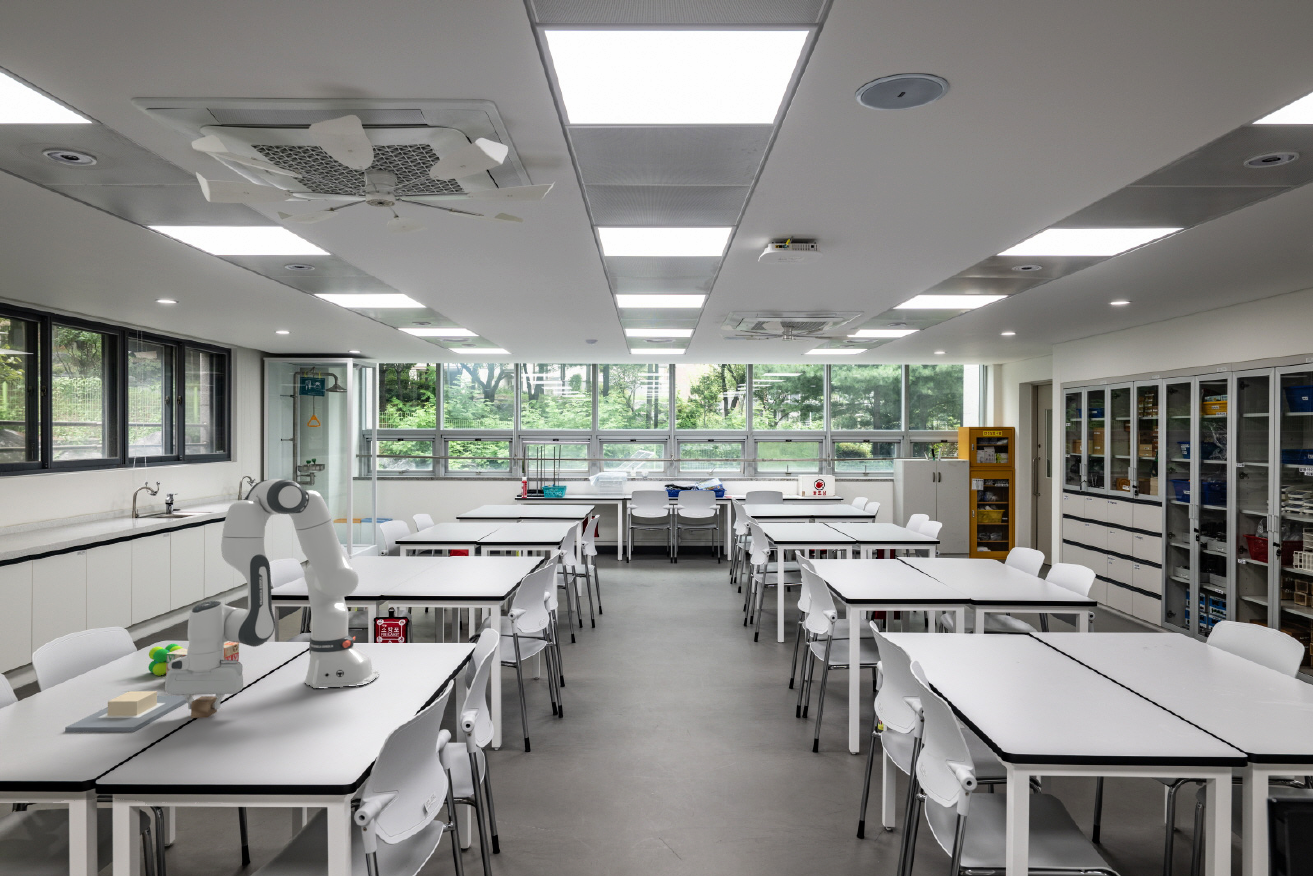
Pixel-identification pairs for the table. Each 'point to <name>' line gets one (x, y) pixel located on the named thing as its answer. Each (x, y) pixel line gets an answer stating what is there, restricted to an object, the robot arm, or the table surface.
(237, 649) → the stack of blocks
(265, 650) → the table surface
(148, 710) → the board
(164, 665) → the molecule model
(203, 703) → the walnut cube
